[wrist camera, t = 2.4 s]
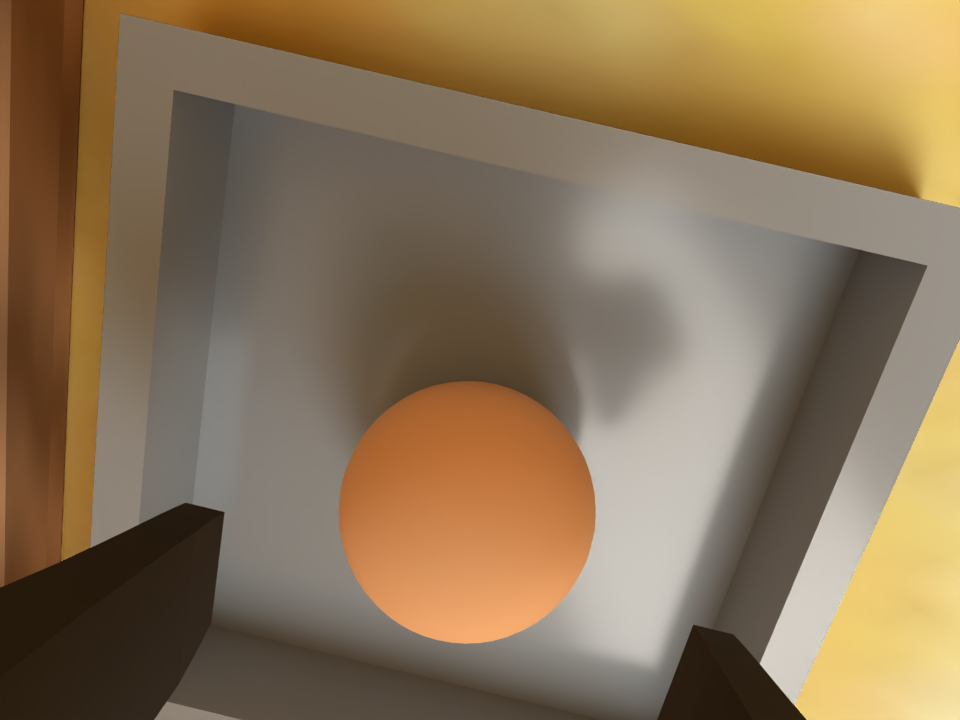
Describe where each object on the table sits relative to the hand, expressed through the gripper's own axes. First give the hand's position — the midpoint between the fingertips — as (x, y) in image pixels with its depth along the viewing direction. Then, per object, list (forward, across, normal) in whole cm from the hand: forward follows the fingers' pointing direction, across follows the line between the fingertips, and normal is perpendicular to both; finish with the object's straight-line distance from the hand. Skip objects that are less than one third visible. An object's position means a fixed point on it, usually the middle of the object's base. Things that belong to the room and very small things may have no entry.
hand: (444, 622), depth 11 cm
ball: (+4, 0, 0) cm, 4 cm away
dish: (+6, 0, 0) cm, 7 cm away
